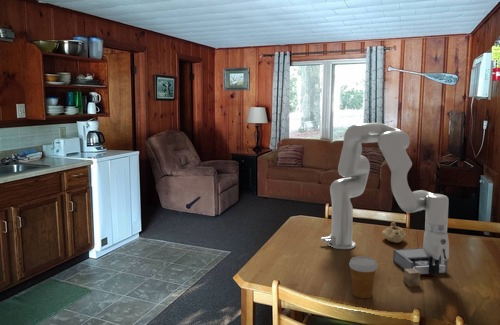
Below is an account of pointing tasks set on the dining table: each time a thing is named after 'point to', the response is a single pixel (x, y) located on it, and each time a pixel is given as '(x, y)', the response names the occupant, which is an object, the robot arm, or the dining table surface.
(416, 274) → the walnut block
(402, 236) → the oil lamp
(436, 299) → the dining table surface
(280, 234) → the dining table surface
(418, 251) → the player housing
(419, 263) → the silver disc
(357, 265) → the disposable coffee cup
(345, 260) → the dining table surface
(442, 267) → the tray
